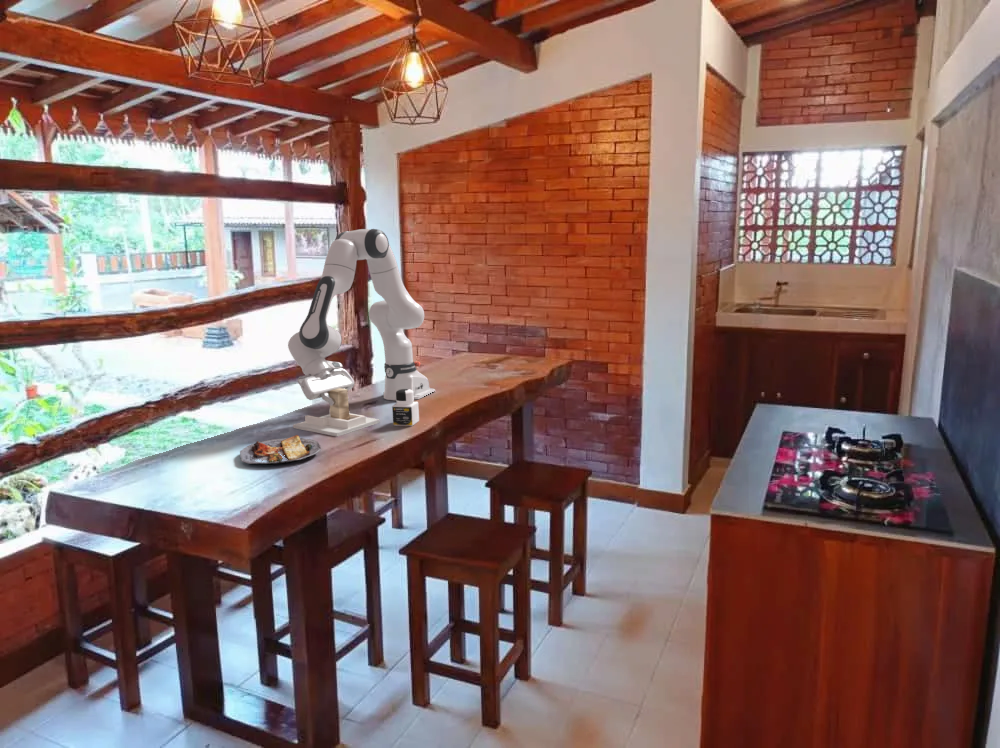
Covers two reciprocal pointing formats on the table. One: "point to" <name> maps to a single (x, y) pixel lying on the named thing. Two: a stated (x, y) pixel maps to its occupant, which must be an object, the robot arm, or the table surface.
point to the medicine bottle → (405, 409)
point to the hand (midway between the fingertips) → (340, 402)
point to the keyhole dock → (335, 424)
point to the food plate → (279, 450)
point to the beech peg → (339, 404)
